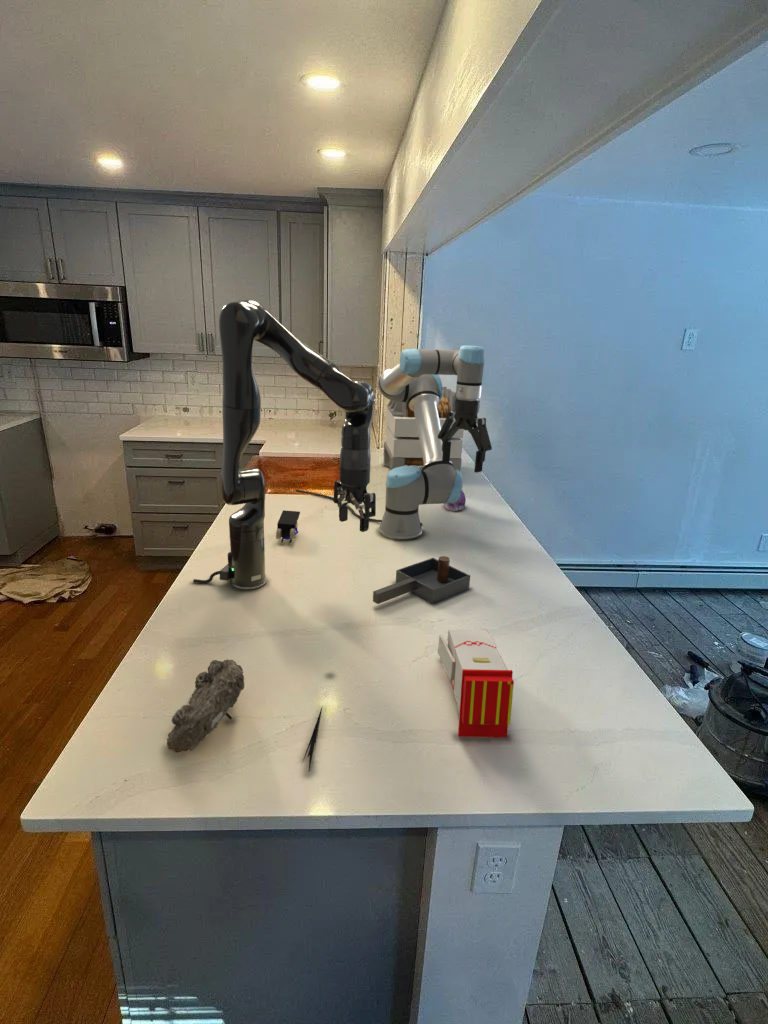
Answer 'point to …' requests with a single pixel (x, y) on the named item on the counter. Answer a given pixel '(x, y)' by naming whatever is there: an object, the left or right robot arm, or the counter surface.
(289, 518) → the figurine character
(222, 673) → the fossil
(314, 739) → the feather
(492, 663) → the toy
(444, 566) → the peg
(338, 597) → the counter surface
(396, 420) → the white slatted crate
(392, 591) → the tray
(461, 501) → the figurine
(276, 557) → the counter surface
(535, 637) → the counter surface
